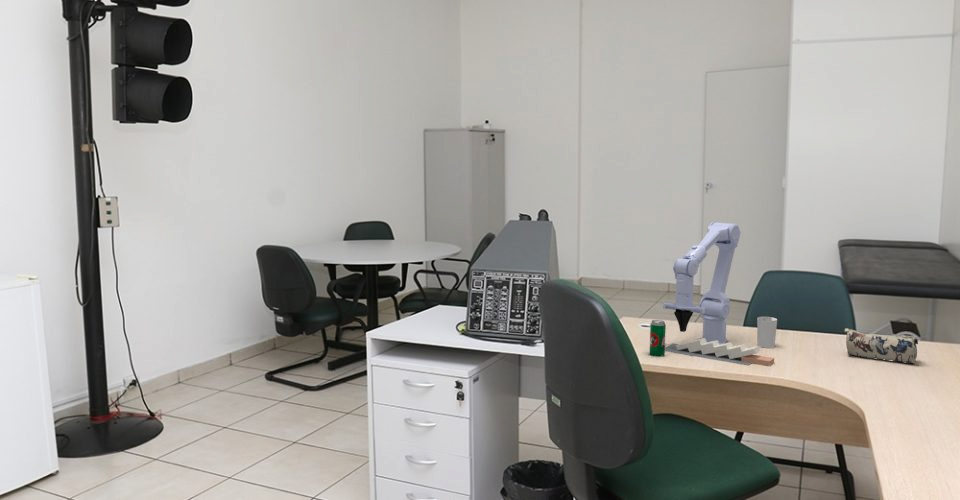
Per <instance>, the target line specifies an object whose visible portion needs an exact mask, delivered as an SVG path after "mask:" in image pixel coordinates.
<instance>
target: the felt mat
mask: <svg viewBox="0 0 960 500" xmlns="http://www.w3.org/2000/svg"><path fill="white" fill-rule="evenodd" d="M679 344H680V343H671V344H669V345H667V346H665V352H667V353H674V354H680V355H684V356H685V355H686V356H691V357H697V358H701V359H708V360H715V361H719V362H720V361H721V362H725V363H731V364H737V365H743V366H751V365H752V364H753V363H748V362H742V361H741V358H742V357H738V358H733V359H730V358H729V355H724V356H719V357H716V355H715V352H713V353H708V354H703V355H702V352H701V350H699V351H694V352H689V349H688V348H686V349H681V350H677V348H676V345H679Z"/></svg>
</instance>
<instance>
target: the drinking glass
mask: <svg viewBox="0 0 960 500" xmlns="http://www.w3.org/2000/svg"><path fill="white" fill-rule="evenodd" d="M756 320H757V321H756V323H757V324H756V325H757V333H756V334H757V337H756V338H757V340H756V341H757V342H756V343H757V345H756V346H759V347H760V348H766V349H773V348H775V346H776V345H775V344H776V335H777V328H778V327H777V325H778V319H777V318H775V317H772V316H771V317H770V316H758V317H757V319H756Z"/></svg>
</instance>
